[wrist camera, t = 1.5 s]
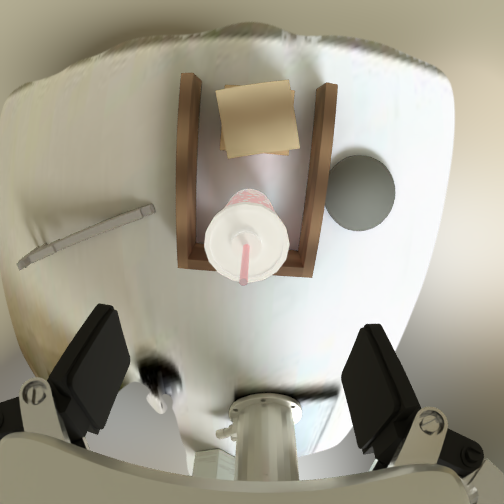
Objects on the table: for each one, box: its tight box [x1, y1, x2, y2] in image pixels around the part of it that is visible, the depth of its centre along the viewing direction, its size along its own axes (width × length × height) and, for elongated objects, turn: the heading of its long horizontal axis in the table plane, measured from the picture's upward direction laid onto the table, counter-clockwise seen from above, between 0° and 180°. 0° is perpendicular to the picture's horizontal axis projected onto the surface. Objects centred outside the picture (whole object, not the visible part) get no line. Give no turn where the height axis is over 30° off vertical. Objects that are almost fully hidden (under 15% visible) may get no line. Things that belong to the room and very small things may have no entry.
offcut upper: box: [216, 80, 300, 159], centre depth 20 cm, size 6×6×3 cm
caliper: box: [17, 204, 155, 270], centre depth 26 cm, size 20×1×6 cm, turn 104°
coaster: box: [325, 155, 395, 231], centre depth 27 cm, size 8×8×1 cm
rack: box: [176, 73, 338, 278], centre depth 24 cm, size 18×13×4 cm
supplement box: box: [192, 449, 235, 480], centre depth 46 cm, size 7×7×13 cm
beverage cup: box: [204, 189, 290, 286], centre depth 22 cm, size 6×6×14 cm
